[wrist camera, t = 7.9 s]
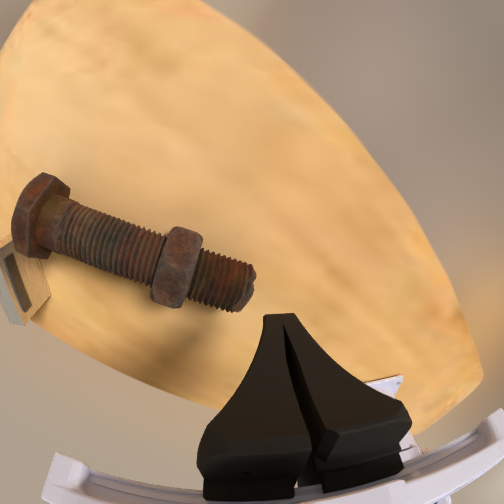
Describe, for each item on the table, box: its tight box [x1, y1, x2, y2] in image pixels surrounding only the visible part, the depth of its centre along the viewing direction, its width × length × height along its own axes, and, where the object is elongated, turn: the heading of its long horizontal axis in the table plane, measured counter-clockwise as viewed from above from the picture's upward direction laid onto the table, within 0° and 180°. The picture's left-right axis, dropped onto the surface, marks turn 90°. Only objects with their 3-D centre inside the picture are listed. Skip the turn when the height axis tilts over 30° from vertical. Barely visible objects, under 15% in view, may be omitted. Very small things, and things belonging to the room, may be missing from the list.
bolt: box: [11, 172, 256, 313], centre depth 15 cm, size 6×5×15 cm
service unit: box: [0, 234, 51, 326], centre depth 15 cm, size 6×2×4 cm, turn 1°
